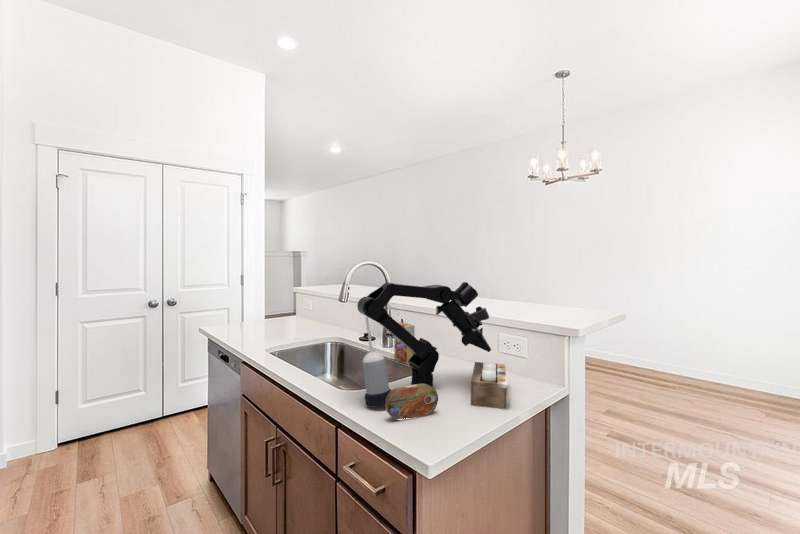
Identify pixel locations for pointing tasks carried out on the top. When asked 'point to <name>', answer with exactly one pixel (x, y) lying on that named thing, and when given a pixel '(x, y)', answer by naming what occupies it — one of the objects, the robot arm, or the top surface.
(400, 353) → the candy box
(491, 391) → the brown compartment box
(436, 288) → the robot arm
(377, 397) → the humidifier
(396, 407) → the tin
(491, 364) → the middle button
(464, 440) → the top surface
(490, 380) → the button
